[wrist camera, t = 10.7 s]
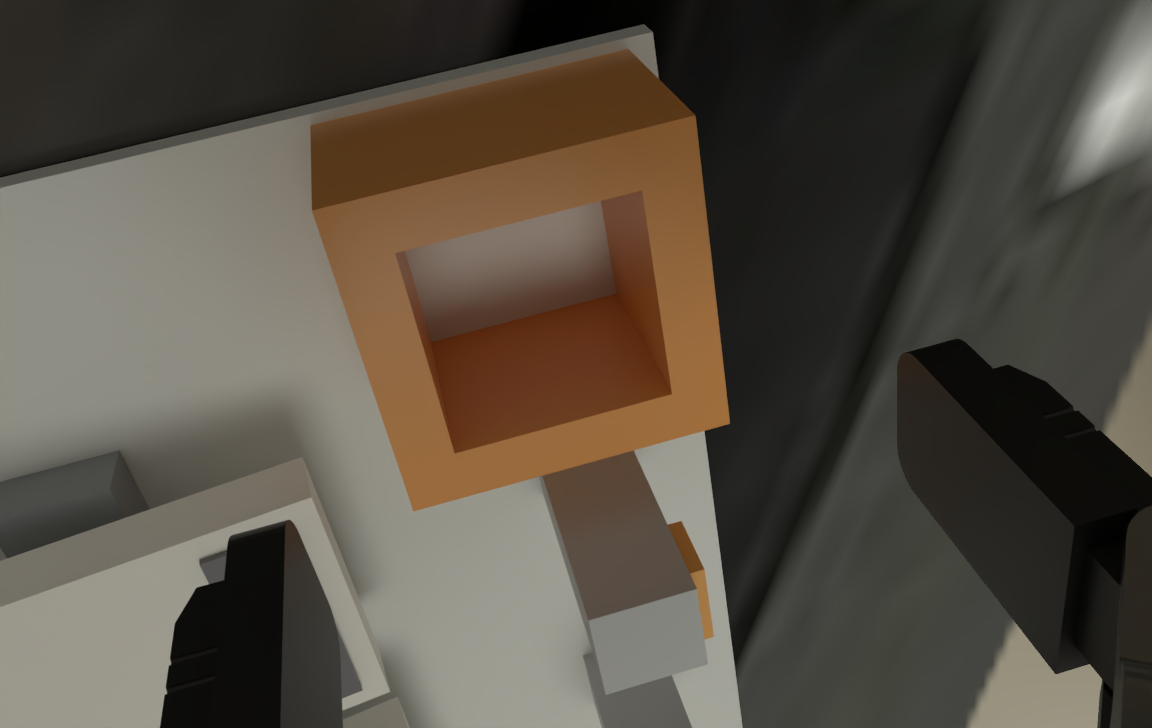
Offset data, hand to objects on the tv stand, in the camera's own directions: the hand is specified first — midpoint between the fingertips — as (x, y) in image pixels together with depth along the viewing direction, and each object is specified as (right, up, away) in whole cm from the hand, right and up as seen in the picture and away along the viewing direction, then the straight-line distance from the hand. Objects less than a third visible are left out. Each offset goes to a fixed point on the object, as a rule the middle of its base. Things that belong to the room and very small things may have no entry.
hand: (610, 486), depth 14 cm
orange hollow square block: (-2, +4, +7) cm, 9 cm away
